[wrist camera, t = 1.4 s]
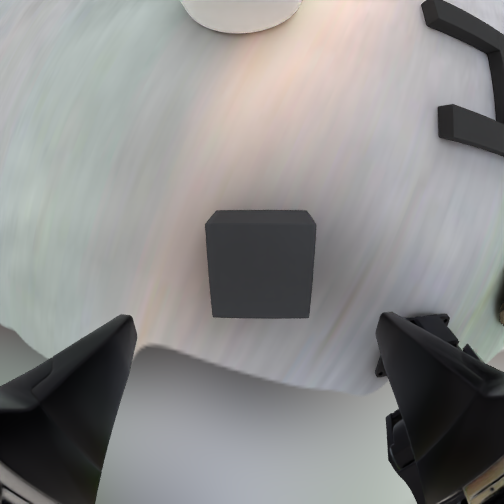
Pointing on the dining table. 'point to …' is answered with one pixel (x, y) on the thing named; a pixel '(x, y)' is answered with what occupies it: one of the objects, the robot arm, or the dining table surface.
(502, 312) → the fossilized seashell
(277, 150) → the dining table surface
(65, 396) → the robot arm
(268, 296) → the pad
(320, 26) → the dining table surface
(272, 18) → the beverage can
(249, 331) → the dining table surface
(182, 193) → the dining table surface
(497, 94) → the u-shaped holder
